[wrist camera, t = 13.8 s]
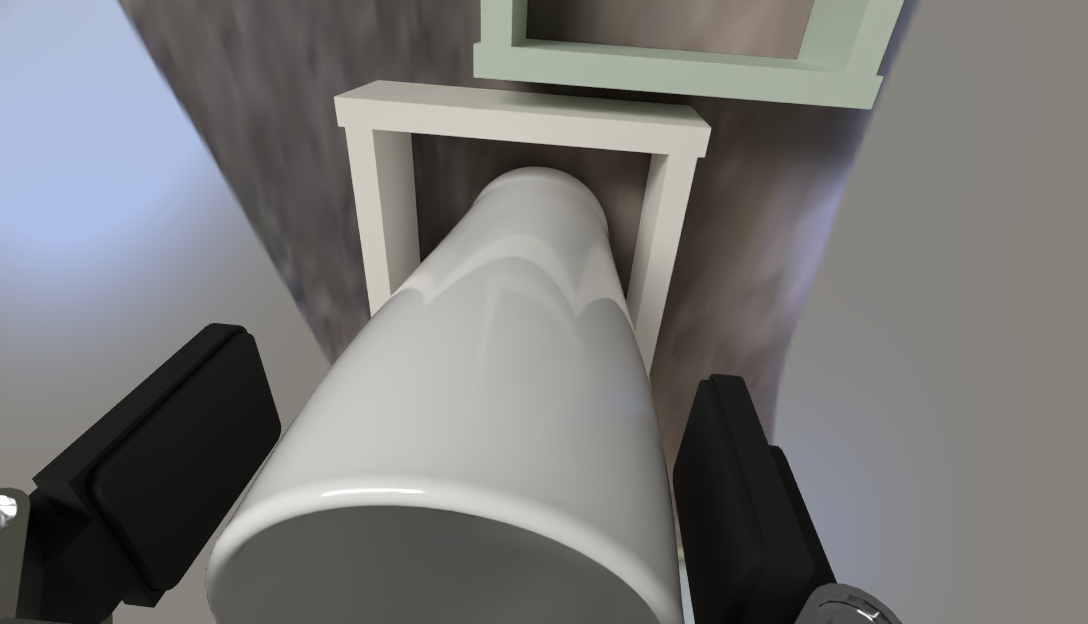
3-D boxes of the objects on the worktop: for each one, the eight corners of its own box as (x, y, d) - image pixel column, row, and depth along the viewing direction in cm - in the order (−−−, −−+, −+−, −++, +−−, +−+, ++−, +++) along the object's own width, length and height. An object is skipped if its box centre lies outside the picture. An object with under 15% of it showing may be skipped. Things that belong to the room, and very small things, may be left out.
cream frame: (378, 80, 17) (334, 96, 14) (690, 105, 17) (711, 128, 14) (403, 328, 23) (374, 377, 20) (640, 351, 22) (647, 406, 19)
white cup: (632, 297, 21) (696, 760, 8) (474, 312, 22) (311, 744, 9) (619, 127, 17) (695, 471, 5) (433, 155, 18) (80, 497, 6)
